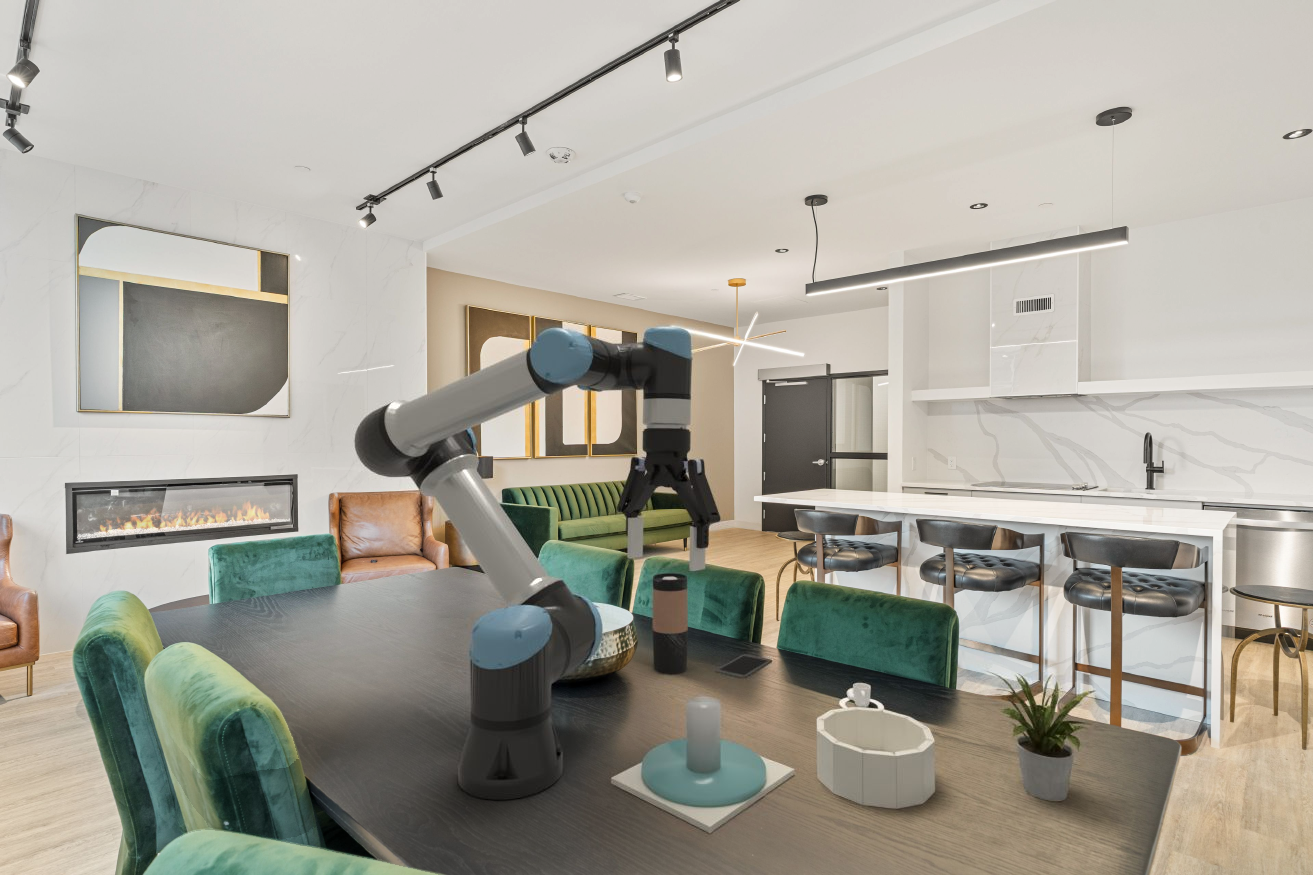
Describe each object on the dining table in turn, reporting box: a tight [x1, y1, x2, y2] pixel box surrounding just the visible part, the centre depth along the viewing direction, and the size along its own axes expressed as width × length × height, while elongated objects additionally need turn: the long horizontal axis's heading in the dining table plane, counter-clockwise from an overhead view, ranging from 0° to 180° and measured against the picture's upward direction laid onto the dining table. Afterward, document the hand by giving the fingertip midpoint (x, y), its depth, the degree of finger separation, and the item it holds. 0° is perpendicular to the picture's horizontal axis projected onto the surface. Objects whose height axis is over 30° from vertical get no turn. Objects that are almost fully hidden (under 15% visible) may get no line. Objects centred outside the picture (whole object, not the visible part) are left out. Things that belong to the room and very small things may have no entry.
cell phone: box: [714, 653, 773, 679], centre depth 145 cm, size 7×14×1 cm, turn 145°
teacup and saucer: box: [838, 682, 885, 710], centre depth 123 cm, size 9×8×4 cm
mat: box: [610, 755, 795, 834], centre depth 96 cm, size 20×18×1 cm
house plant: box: [983, 670, 1096, 802], centre depth 93 cm, size 14×14×16 cm
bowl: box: [816, 706, 936, 810], centre depth 96 cm, size 16×16×7 cm
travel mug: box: [652, 572, 689, 675], centre depth 143 cm, size 8×8×20 cm
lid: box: [641, 695, 766, 807], centre depth 96 cm, size 18×18×10 cm
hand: (664, 563), depth 103 cm, fingers open, 13 cm apart
